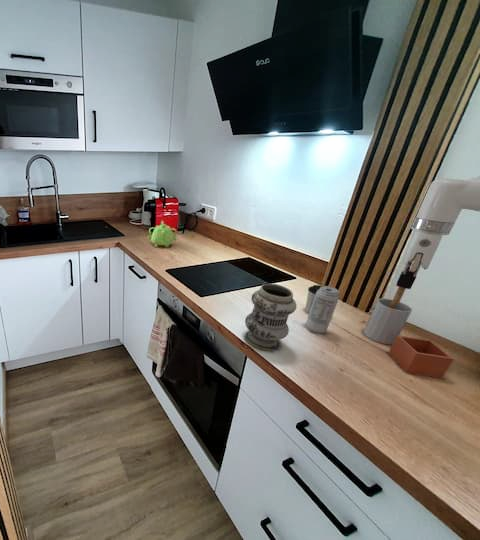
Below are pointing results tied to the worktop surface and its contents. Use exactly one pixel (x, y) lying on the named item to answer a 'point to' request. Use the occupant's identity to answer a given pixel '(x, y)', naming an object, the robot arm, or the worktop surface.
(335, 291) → the energy drink can
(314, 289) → the coffee cup
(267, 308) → the apothecary jar
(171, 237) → the teapot
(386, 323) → the grey cylindrical container
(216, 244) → the worktop surface
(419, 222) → the robot arm
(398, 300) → the brush
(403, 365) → the holder
